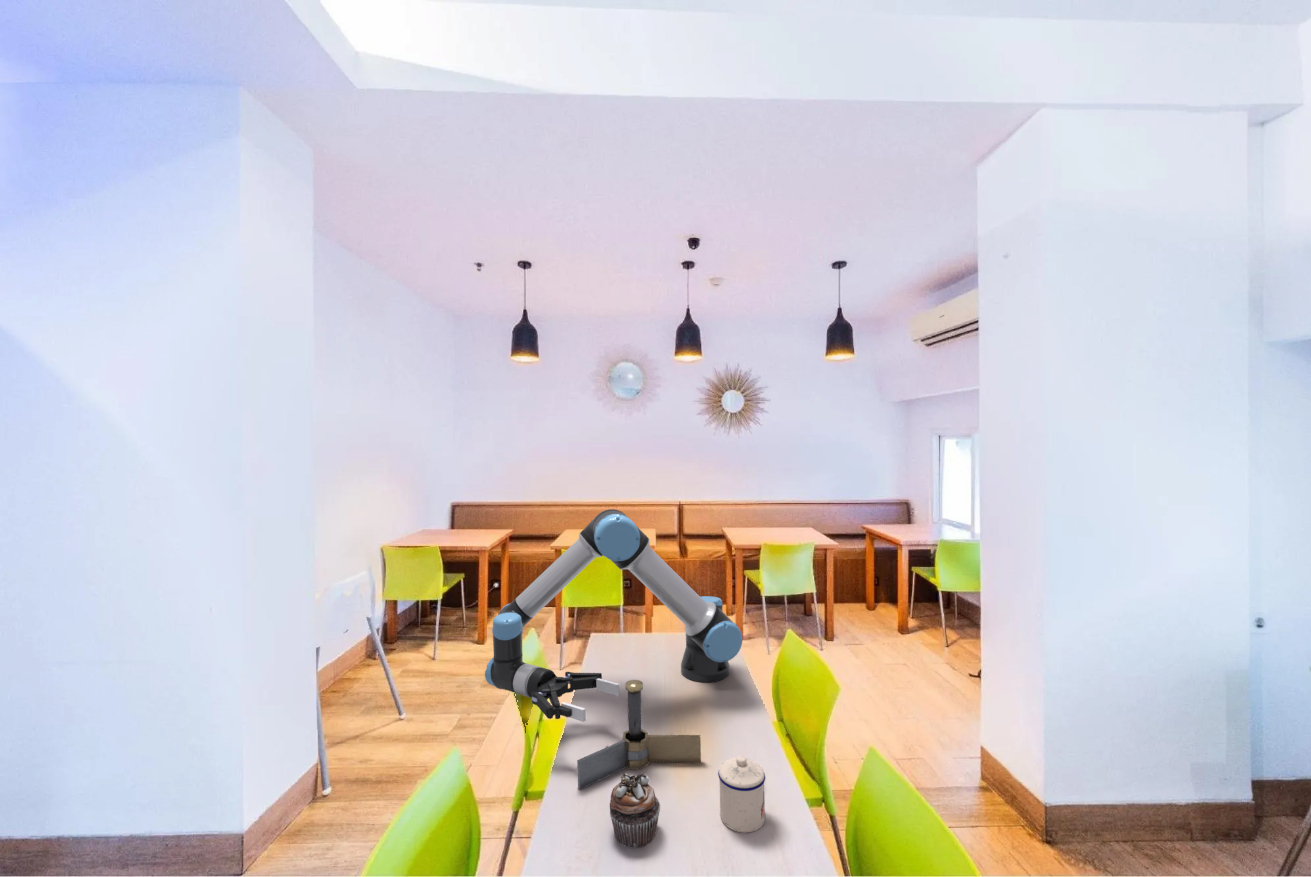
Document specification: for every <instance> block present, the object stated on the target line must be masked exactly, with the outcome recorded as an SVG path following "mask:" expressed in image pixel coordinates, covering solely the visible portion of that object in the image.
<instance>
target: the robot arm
mask: <svg viewBox="0 0 1311 877" xmlns="http://www.w3.org/2000/svg"><path fill="white" fill-rule="evenodd" d="M602 557H604V558H607V559H608V560H610V561H611V563H613V564H614V565H615V566H616V567H617V568H618V569H619V570H622V571H623V570H628V571H629V572H630V573H631V574H632V575H633V576H634V577H635V578H637V580H639V581H640V582H641V583H642V584H643V585H644V586H645V587H646V588H647V589H648V591H650V592H651V593H652V594H653V595H654V596H655V597H656V598H657V599H658V600H659V601H660V602H661V603H662V604H663V605H664V606H665V607H666V608H667V609H669V611H671V613H672V614H673V615H674V616H676V618H677V619H679V621H680V622H682V623H683V624H684V625H685V626H684V630H685V648H684V652H683V655H682V659H681V662H680V673H681V675H683V677H684V678H687V679H688V680H691V681H693V682H694V681H695V682H701V683H711V682H712V683H713V682H717V681H721V680H723V679H726V678H727V677H728V676H729V675H730V663H729V661H731V660H732V659H734V658H735V657H736V656H737V655H738V653H739V652H740V650H741V649H742V645H743V634H742V631H741V629H740V627H739V626H738V624H737V623H735V622H733V620H732V619H731V618H730V617H729V616H728V615H727V614H726V613H724V611H723V607H724V604H723V600H722V599H721V598H720V597H717V596H708V595H707V596H701V595H699V594H697V592H696V591H695V590H694V589H693V588H692V587H691V586H690V585H689V584H688V583H687V582H686V581H685V580H684V579H683V578H682V577H681V576H679V574H678V573H677V572H676V571H674V569H672V568H671V566H670V565H668V563H666V561H664V559H662V557H661V556H660V555H659V554H658V553H656V551H654V549H653V548H652V547H651V546H650V538H649V537H648V536H647V535H646V534H645V533H644V531H642V529H640V528H639V527H638V526H637V525H636V523H635V522H634V520H632V519H631V518H630V517H628V515H627V514H625V513H624V512H623V511H621V510H619V509H614V508H613V509H611V508H609V509H605V510H603V511H601V512H599V513H598V514H596V516H595V517H594V518H593V519H592V520H591V521H590V522H588V524H587V525H586V527H584V528H583V530H581V531H580V532H579V533H578V538H577V540H576V541H575V542H574V543H573V544H571V545H570V546H569V547H568V548H567V549H566V550H565V551H564V552H563V553H562V554H561V555H560V556H559V557H558V558H557V559H555V561H554V562H552V564H550V565H549V566H548V567H547V568H546V569H545V570H544V571H543V572H542V573H541V574H540V575H539V576H538V577H537V578H536V579H535V580H534V581H532V582H531V583H530V584H529V585H528V587H527V588H525V589H524V590H523V591H522V592H521V593H520V594H519V595H518V596H517V597H516V598H514V600H513V601H511V602H510V603H508V604H506V605H504V606H503V607H502V608H501V609H500V611H499V613H498V615H496V616H495V617H494V618H493V620H492V630H491V631H492V632H491V633H492V642H493V643H492V645H493V647H492V648H493V657H492V658H491V659H490V660H489V661H488V662H487V665H486V669H485V670H484V678H485V681H486V682H487V684H489V685H490V686H493V687H494V688H497V689H499V690H504V691H508V692H511V693H514V694H518V695H521V696H523V697H526V698H530V699H531V703H532V705H534V706H537V707H538V708H539V710H540V711H541V712H542V713H543V714H544V715H545V717H546V718H547V719H549V720H551V719H553V718H554V719H555V720H559V719H561V716H562V717H565V718H571V719H573V720H576V721H580V722H582V723H585V722H586V719H587V718H586V712H587V711H586V708H585V707H581V706H578V705H575V704H571V703H568V702H564V701H562V702H561V703H560V700H559V698H561V697H562V696H563V695H564V694H566V693H567V694H568V693H573V692H574V691H578V690H587V689H596V691H600V692H603V693H606V694H609V695H613V696H619V695H620V683H618V682H614V681H610V680H605V679H603V673H602V672H571V671H566V672H565V673H564V676H557V675H556V674H555V672H554V671H553V670H551V669H548V668H545V667H542V666H541V667H540V666H539V665H534V664H530V663H528V662H527V663H526V662H524V661H523V635H524V634H523V633H524V627H526V625H527V624H528V623H529V622H530V621H531V620H532V619H533V618H534V617H535V616H536V615H537V614H538V613H539V612H541V610H542V609H544V607H545V606H547V605H548V604H549V603H550V602H551V601H552V600H553V599H554V598H555V597H556V596H557V595H558V594H559V593H560V592H562V590H563V589H564V588H566V586H568V585H569V584H570V583H571V582H572V580H574V579H575V578H576V577H577V576H578V575H579V574H580V573H581V572H582V571H583V570H584V569H586V567H587V566H588V565H589V564H591V563H592V562H593V561H594V560H595V559H596V558H602ZM548 699H549V701H550V702H549V701H548Z"/></svg>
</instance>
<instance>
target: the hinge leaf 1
mask: <svg viewBox="0 0 1311 877" xmlns="http://www.w3.org/2000/svg"><path fill="white" fill-rule="evenodd" d="M642 740H643V739H642ZM647 756H648V747H647V748H645V749H643V750H642V751H640V752H635V751H628V750H626V741H625V739H624V740H622V739H621V740H620V741H617V742H615V743H613V744H611V745H609V746H605V747H604V748H602V749H600V750H597V751H595V752H593V753H591V754H588V755H586V756H584V757H581V758H580V759H577V762H576V763H577V768H576V769H577V788H578V789H579V790H582V789H584V788H586V787H588V786H590V785H592V784H594V783H596V782H598V781H600V780H602V779H605V778H606V777H609V776H611V775H613V774H615V773H617V772H620V771H622V770H623V769H625V768H626V769H627V762H626V759H628V760H637V761H639V760H641V759H643V758H645V757H647ZM581 788H582V789H581Z"/></svg>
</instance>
